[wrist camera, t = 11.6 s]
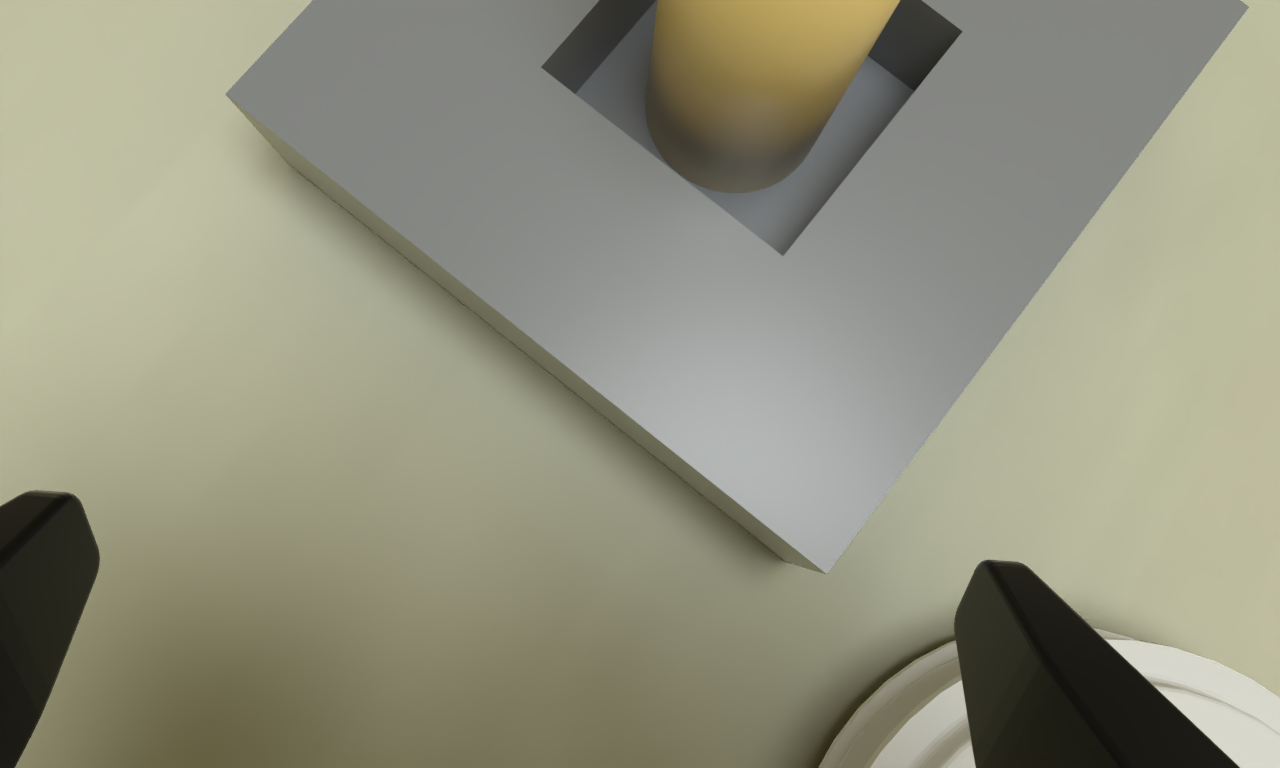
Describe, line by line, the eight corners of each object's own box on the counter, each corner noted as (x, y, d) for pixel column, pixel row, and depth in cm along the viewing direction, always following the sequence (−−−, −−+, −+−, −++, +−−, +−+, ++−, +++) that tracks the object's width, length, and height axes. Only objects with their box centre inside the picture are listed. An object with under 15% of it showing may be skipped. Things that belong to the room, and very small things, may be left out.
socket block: (1143, 87, 25) (1249, 6, 21) (786, 562, 22) (826, 574, 18) (677, -263, 25) (692, -406, 21) (289, 164, 23) (225, 94, 19)
